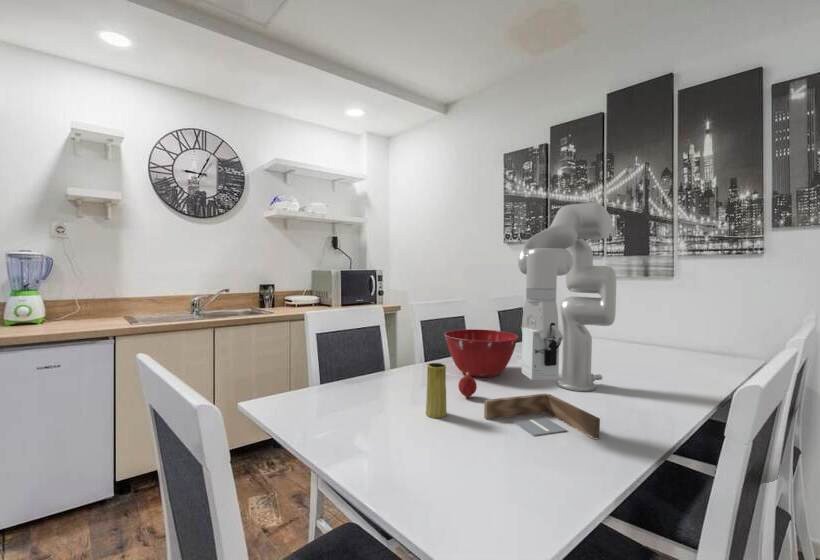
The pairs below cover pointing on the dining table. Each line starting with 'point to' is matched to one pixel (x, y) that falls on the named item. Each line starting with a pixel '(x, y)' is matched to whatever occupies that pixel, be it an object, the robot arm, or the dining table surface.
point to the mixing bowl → (481, 350)
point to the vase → (436, 390)
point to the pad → (539, 426)
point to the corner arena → (543, 404)
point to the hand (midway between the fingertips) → (539, 361)
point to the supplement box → (536, 357)
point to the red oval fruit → (467, 385)
